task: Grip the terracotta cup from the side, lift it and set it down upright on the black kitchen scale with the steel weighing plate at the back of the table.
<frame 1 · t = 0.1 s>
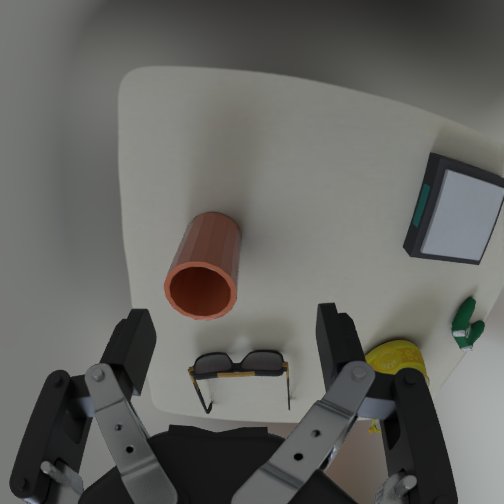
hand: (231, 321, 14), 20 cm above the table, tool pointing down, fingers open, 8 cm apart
mug: (380, 359, 46), on the table
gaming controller: (463, 318, 42), on the table
scale: (454, 209, 32), on the table
cup: (213, 237, 35), on the table
sunglasses: (244, 377, 48), on the table
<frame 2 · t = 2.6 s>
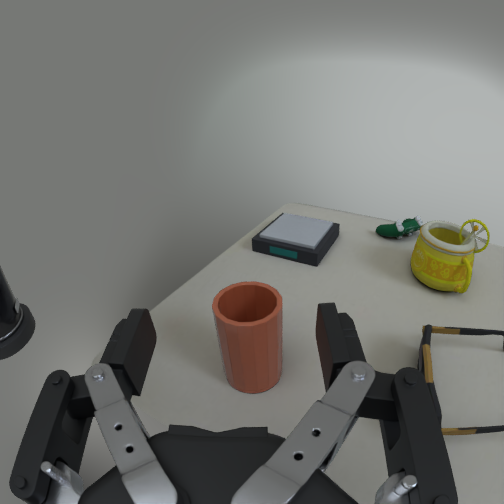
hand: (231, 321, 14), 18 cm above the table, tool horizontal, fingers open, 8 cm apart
mug: (440, 281, 44), on the table
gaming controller: (399, 236, 57), on the table
scale: (297, 242, 57), on the table
cup: (253, 371, 33), on the table
sunglasses: (468, 394, 26), on the table
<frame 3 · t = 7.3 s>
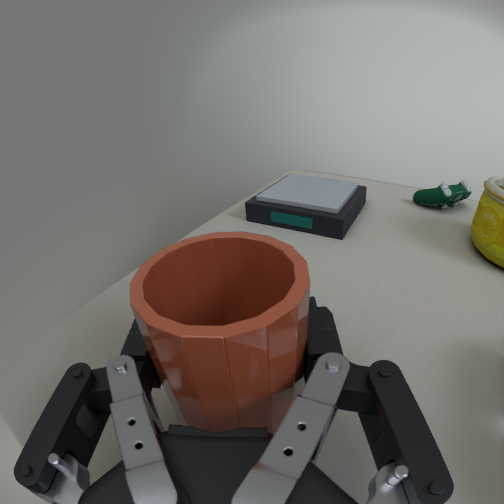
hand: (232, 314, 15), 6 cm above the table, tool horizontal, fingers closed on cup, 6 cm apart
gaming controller: (442, 206, 40), on the table
scale: (310, 210, 40), on the table
cup: (241, 419, 16), on the table, touching gripper
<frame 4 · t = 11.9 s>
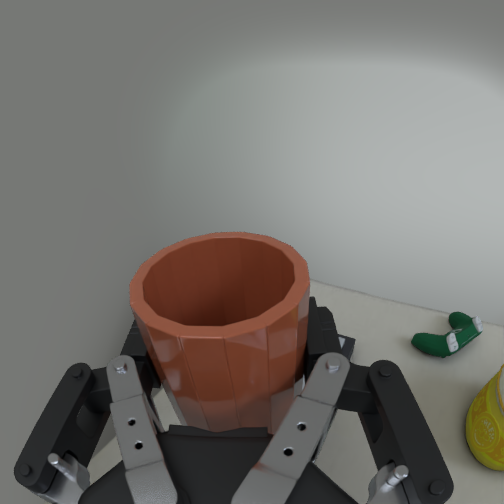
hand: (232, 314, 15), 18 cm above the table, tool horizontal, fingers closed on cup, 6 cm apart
mug: (501, 441, 19), on the table
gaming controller: (445, 344, 33), on the table
cup: (241, 420, 16), point 12 cm above the table, touching gripper
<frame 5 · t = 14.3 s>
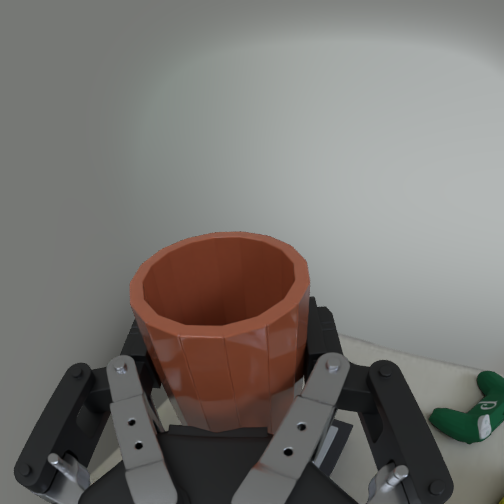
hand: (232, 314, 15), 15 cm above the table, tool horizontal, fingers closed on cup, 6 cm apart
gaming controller: (471, 417, 21), on the table
scale: (249, 467, 20), on the table
cup: (241, 419, 16), point 9 cm above the table, touching gripper
when the fingers open (9 cm above the table, at t = 16.5 s): cup stays where it is, resting on scale.
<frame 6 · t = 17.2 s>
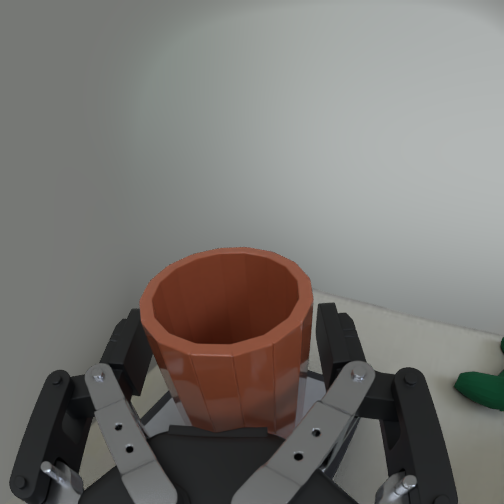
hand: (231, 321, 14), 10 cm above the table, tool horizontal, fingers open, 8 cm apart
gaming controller: (499, 384, 18), on the table
scale: (247, 444, 18), on the table
cup: (246, 425, 16), point 3 cm above the table, touching scale
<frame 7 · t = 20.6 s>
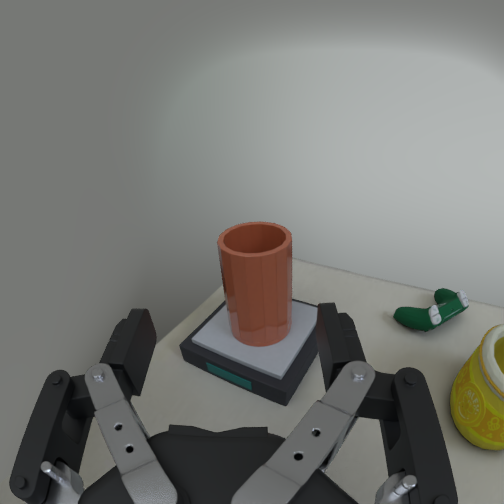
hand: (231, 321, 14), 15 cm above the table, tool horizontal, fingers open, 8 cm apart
mug: (491, 419, 20), on the table
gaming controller: (430, 321, 33), on the table
scale: (261, 344, 33), on the table
cup: (260, 325, 32), point 3 cm above the table, touching scale
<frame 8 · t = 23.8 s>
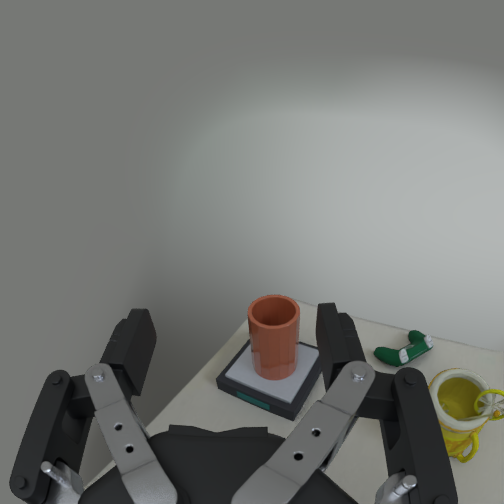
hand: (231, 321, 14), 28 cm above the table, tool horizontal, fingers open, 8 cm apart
mug: (441, 434, 31), on the table
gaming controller: (402, 356, 44), on the table
scale: (274, 375, 44), on the table
cup: (275, 363, 42), point 3 cm above the table, touching scale
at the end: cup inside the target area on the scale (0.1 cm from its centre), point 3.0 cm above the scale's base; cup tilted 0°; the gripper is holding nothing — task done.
